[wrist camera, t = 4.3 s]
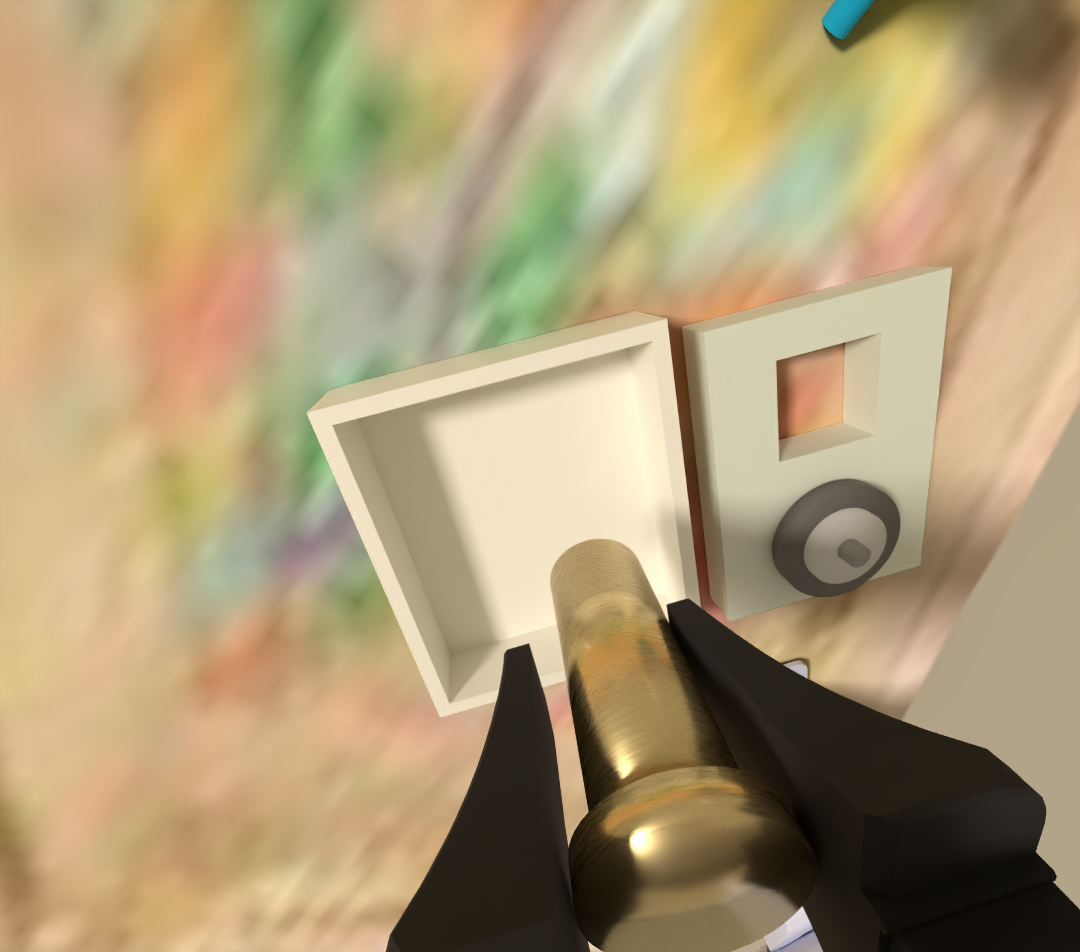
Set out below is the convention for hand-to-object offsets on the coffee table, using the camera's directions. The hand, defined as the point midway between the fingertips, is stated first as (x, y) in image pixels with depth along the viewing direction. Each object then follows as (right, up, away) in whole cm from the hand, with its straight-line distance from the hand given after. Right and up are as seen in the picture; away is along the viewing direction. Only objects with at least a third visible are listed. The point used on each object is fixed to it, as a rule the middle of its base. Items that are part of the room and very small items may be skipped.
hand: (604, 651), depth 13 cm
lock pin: (0, +1, +3) cm, 3 cm away
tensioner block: (+10, +6, +10) cm, 16 cm away
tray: (-2, +3, +9) cm, 10 cm away
